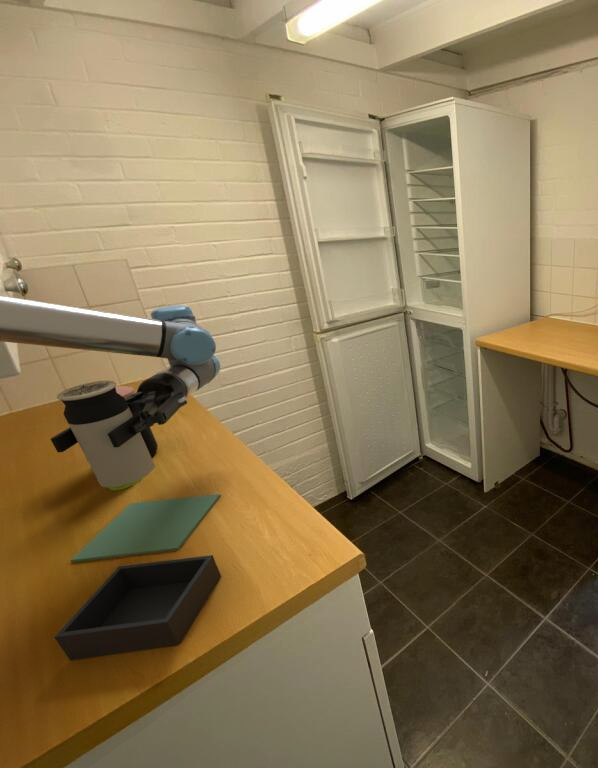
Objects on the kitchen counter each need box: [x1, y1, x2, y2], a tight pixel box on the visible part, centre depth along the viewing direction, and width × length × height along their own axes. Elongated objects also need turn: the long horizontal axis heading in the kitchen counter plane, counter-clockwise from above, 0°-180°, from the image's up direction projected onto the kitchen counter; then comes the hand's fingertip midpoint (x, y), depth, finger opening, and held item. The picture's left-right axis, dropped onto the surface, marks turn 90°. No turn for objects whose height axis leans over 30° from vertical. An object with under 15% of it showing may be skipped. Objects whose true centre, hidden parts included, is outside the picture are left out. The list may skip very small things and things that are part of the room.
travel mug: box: [56, 380, 156, 488], centre depth 75 cm, size 8×8×18 cm
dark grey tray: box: [53, 554, 222, 661], centre depth 65 cm, size 14×12×5 cm
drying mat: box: [70, 493, 222, 563], centre depth 84 cm, size 18×16×1 cm
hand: (85, 442), depth 70 cm, fingers closed on travel mug, 8 cm apart
